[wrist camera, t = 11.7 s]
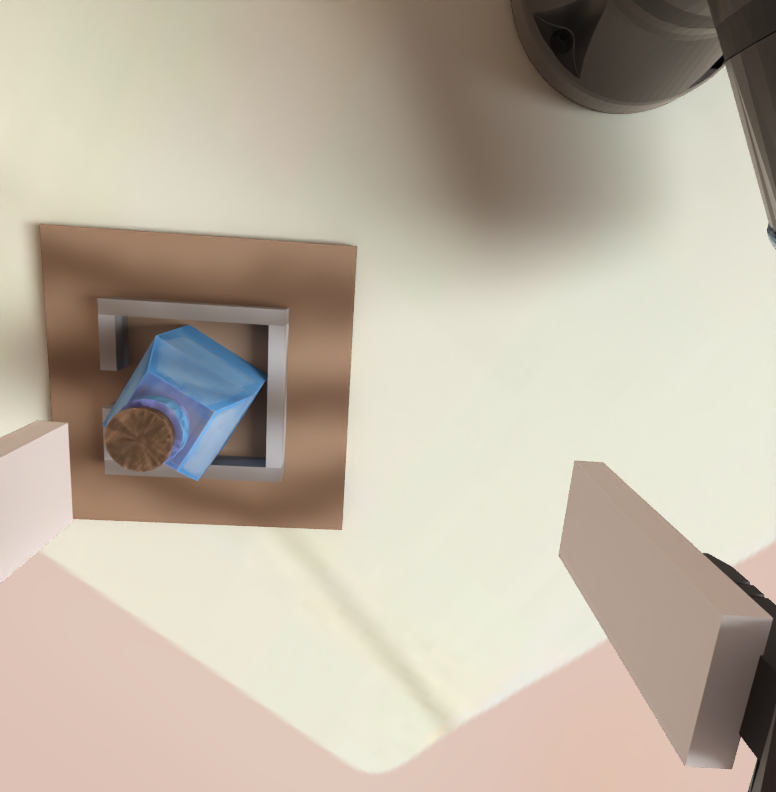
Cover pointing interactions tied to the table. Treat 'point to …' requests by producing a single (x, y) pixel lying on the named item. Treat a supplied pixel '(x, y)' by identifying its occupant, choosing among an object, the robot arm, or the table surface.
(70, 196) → the table surface
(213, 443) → the perfume bottle
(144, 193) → the table surface
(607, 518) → the robot arm
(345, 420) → the pocket board
